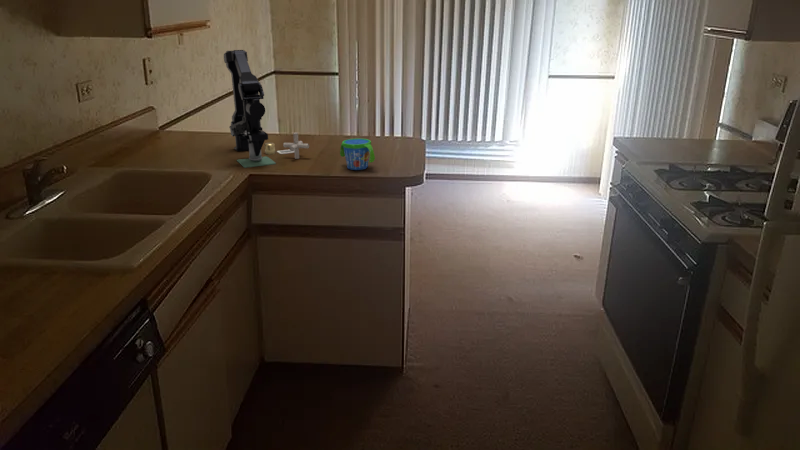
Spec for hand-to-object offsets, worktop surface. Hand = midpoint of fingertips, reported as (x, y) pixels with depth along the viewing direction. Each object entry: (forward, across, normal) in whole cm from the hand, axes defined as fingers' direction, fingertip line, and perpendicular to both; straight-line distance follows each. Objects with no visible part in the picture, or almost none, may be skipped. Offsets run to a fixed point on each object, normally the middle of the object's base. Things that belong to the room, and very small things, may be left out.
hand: (255, 154), depth 237 cm
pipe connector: (+3, +1, +16) cm, 16 cm away
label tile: (+3, -11, +16) cm, 20 cm away
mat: (+3, 0, 0) cm, 3 cm away
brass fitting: (+3, -12, +9) cm, 15 cm away
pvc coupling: (+2, 0, 0) cm, 2 cm away
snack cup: (+3, +26, +31) cm, 41 cm away
